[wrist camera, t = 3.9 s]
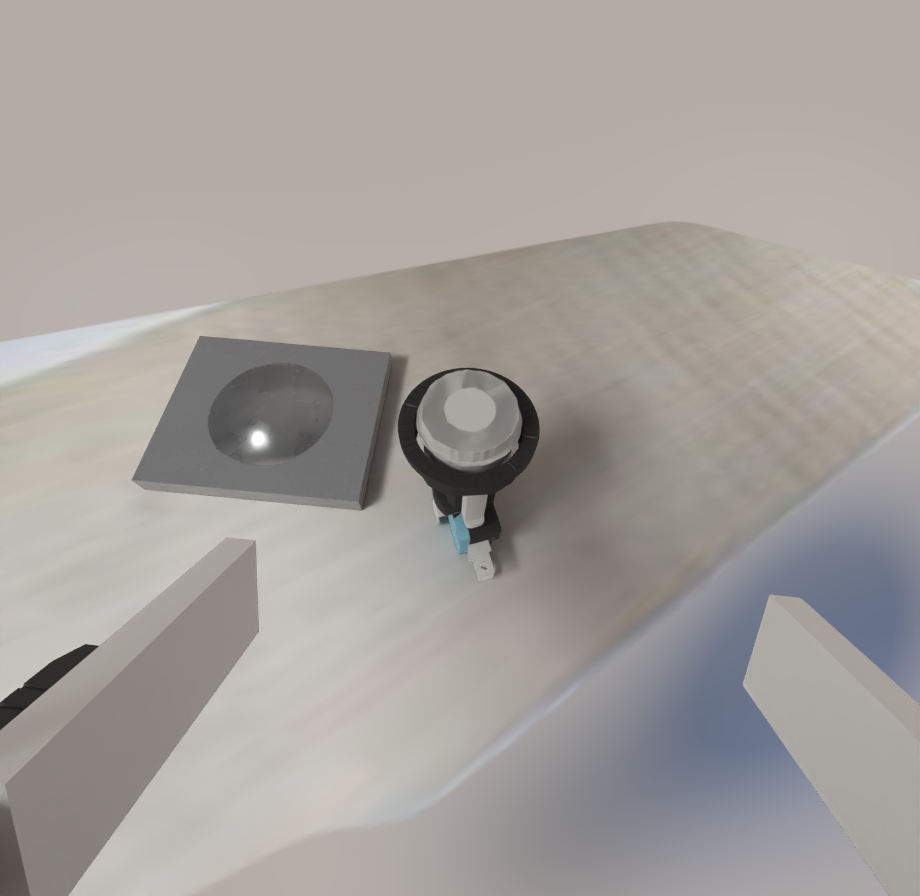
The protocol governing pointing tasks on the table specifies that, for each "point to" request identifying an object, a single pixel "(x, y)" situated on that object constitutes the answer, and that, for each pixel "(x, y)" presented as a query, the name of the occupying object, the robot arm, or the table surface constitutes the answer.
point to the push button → (469, 450)
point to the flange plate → (270, 424)
